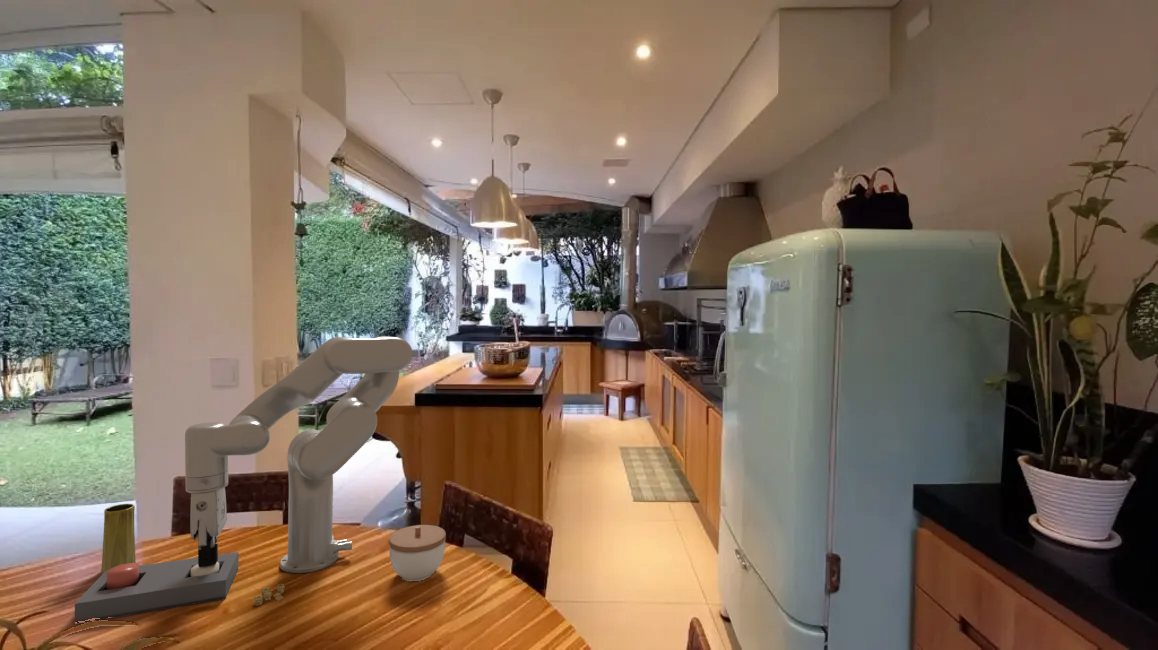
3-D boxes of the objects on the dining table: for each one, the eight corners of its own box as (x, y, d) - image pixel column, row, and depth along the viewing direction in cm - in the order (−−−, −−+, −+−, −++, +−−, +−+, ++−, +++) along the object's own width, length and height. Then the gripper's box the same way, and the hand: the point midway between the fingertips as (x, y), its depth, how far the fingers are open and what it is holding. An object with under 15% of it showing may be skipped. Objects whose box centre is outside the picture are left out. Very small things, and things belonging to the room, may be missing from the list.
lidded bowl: (375, 581, 116) (376, 532, 116) (413, 557, 128) (414, 513, 128) (421, 593, 111) (422, 542, 111) (456, 567, 123) (456, 521, 123)
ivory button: (221, 573, 115) (221, 559, 115) (216, 584, 111) (216, 569, 111) (194, 578, 113) (194, 563, 113) (187, 589, 109) (187, 573, 108)
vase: (114, 577, 115) (115, 513, 115) (93, 573, 117) (94, 511, 117) (142, 564, 121) (143, 504, 121) (122, 561, 123) (122, 501, 123)
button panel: (238, 568, 120) (238, 551, 120) (225, 598, 108) (225, 579, 108) (105, 589, 110) (106, 570, 110) (74, 624, 98) (74, 603, 98)
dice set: (253, 608, 105) (253, 599, 105) (258, 596, 110) (259, 587, 110) (281, 604, 107) (281, 595, 107) (285, 592, 112) (286, 583, 112)
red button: (142, 576, 109) (142, 561, 109) (133, 587, 105) (133, 572, 105) (112, 580, 107) (112, 565, 107) (101, 592, 103) (102, 576, 103)
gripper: (220, 489, 106) (221, 577, 107) (234, 469, 120) (235, 547, 120) (175, 494, 103) (176, 584, 104) (195, 473, 117) (196, 553, 117)
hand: (208, 564), depth 112 cm, fingers closed
